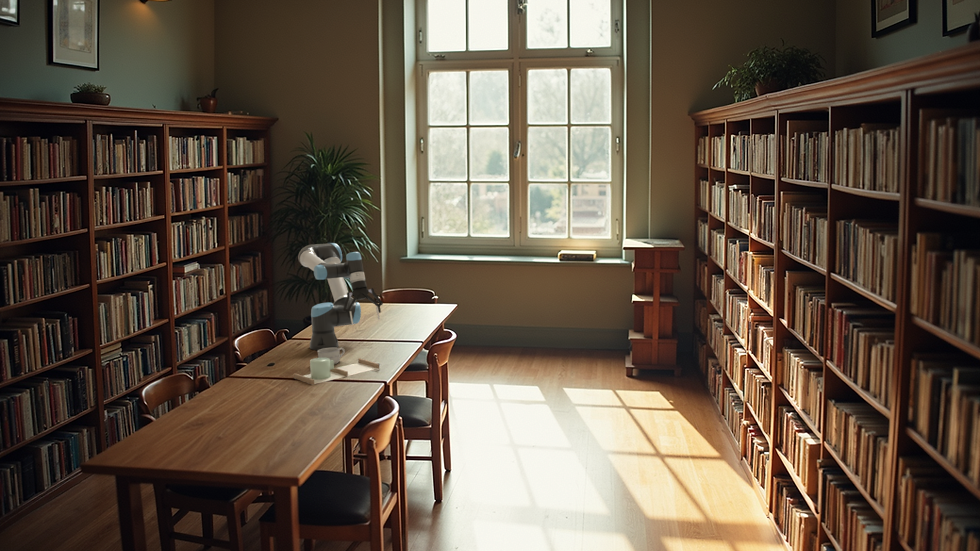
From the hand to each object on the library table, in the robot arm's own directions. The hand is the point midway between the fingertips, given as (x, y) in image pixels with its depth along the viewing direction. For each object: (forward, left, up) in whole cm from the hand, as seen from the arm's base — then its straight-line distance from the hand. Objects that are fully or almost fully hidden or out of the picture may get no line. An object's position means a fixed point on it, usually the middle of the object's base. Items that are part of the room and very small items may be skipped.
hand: (365, 321), depth 426 cm
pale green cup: (+19, -39, -17) cm, 46 cm away
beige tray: (+19, -31, -18) cm, 41 cm away
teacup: (+1, -22, -18) cm, 28 cm away
